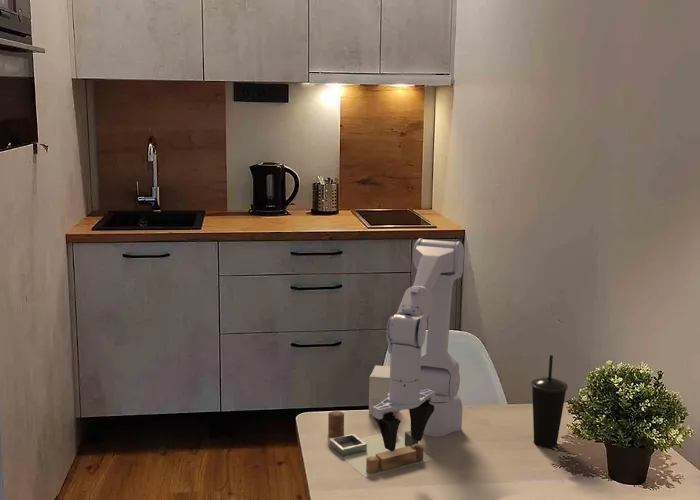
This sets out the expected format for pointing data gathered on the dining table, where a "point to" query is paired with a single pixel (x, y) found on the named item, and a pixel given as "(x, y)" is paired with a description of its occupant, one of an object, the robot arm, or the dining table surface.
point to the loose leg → (335, 424)
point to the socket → (357, 448)
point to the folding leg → (400, 456)
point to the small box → (378, 385)
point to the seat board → (375, 444)
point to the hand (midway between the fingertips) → (403, 444)
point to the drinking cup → (547, 408)
